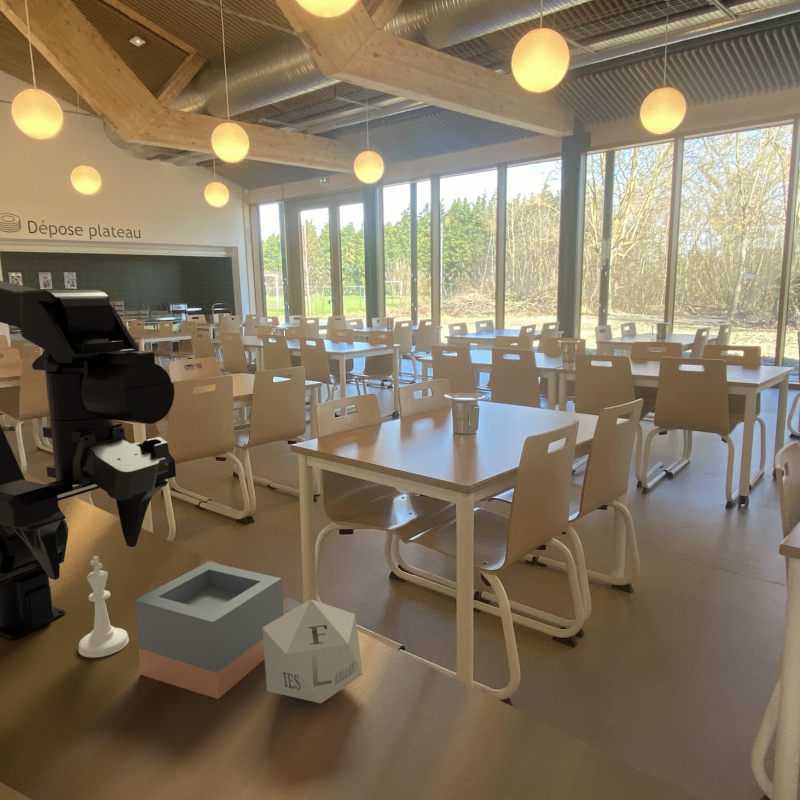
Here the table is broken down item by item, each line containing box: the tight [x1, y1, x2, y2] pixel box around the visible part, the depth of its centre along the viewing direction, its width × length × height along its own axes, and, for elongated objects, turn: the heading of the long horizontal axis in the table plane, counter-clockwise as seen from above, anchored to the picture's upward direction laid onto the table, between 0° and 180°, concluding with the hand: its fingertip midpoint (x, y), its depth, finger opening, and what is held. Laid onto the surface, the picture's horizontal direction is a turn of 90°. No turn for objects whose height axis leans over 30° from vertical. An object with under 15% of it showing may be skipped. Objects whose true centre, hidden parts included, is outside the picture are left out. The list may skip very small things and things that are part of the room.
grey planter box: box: [134, 561, 284, 700], centre depth 65 cm, size 10×10×8 cm
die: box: [262, 599, 364, 704], centre depth 58 cm, size 8×9×10 cm
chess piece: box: [78, 555, 130, 659], centre depth 68 cm, size 5×5×10 cm
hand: (95, 561), depth 68 cm, fingers open, 9 cm apart
